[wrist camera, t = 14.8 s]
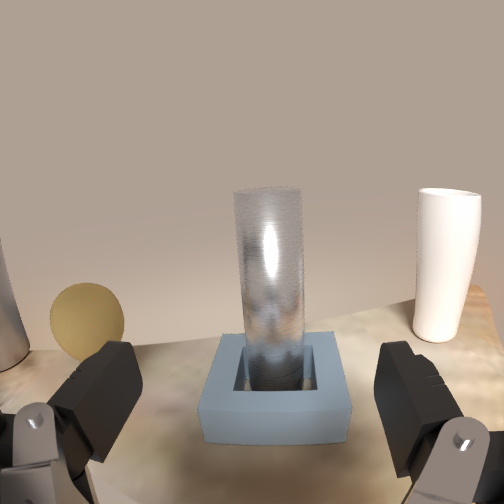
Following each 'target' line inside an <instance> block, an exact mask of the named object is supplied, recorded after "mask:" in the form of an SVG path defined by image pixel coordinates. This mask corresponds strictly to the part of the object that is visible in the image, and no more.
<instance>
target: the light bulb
mask: <svg viewBox="0 0 504 504" xmlns="http://www.w3.org/2000/svg"><path fill="white" fill-rule="evenodd" d="M50 325H51V329H52V333H53V335H54V337H55V339H56V341H57V343H58V344H59V345H60V346H61V347H62V349H63V350H64V351H66V352H67V353H68V354H69V355H71V356H72V357H74V358H75V359H77V360H79V361H80V362H81V363H82V362H83V360H85V359H86V358H88V357H90V356H91V355H93V354H94V353H97V352H98V351H99V350H100V349H101V348H102V346H103V345H104V344H105V343H106V342H107V341H109V340H112V341H121V338H122V335H123V331H124V317H123V312H122V309H121V306H120V304H119V301H118V300H117V298H116V297H115V295H114V294H113V293H112V292H111V291H110V290H108V289H107V288H106V287H103V286H101V285H98V284H93V283H80V284H75V285H73V286H70V287H68V288H66V289H65V290H64V291H62V292H61V293H60V294H59V296H58V297H57V298H56V299H55V301H54V303H53V305H52V308H51V311H50ZM81 363H80V364H81Z"/></svg>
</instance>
